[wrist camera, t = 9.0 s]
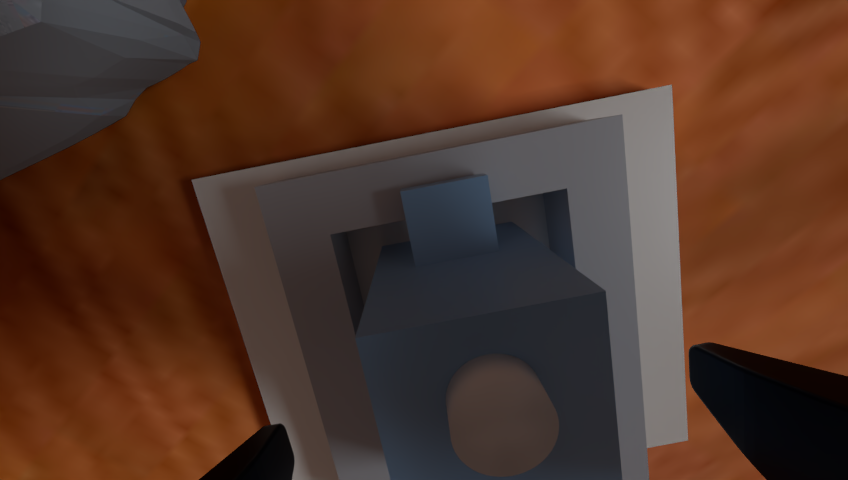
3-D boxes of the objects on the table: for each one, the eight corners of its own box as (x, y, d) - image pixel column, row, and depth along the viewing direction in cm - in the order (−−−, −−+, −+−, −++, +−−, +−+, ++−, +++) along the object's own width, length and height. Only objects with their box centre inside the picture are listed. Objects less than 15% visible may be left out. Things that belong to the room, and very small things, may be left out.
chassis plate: (670, 421, 15) (732, 487, 12) (306, 489, 15) (281, 570, 12) (651, 89, 12) (726, 71, 9) (208, 177, 12) (146, 186, 10)
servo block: (542, 438, 14) (661, 705, 7) (429, 459, 14) (444, 742, 7) (503, 161, 12) (624, 180, 5) (369, 187, 12) (314, 240, 5)
